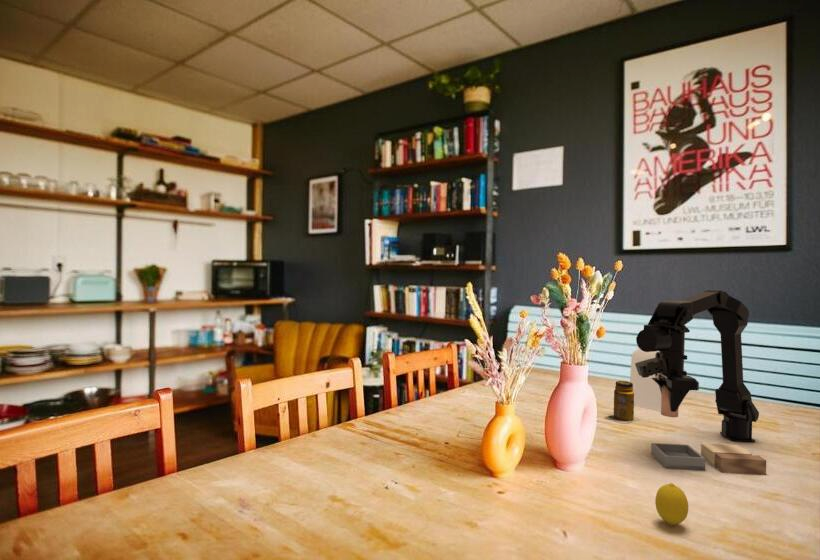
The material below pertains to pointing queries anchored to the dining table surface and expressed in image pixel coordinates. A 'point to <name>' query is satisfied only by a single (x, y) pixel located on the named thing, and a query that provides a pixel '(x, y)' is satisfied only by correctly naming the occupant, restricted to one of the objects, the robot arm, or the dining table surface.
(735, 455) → the block
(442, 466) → the dining table surface
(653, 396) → the milk
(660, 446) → the tray
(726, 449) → the light wood rectangular prism
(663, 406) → the dowel
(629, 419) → the condiment
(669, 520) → the lemon
